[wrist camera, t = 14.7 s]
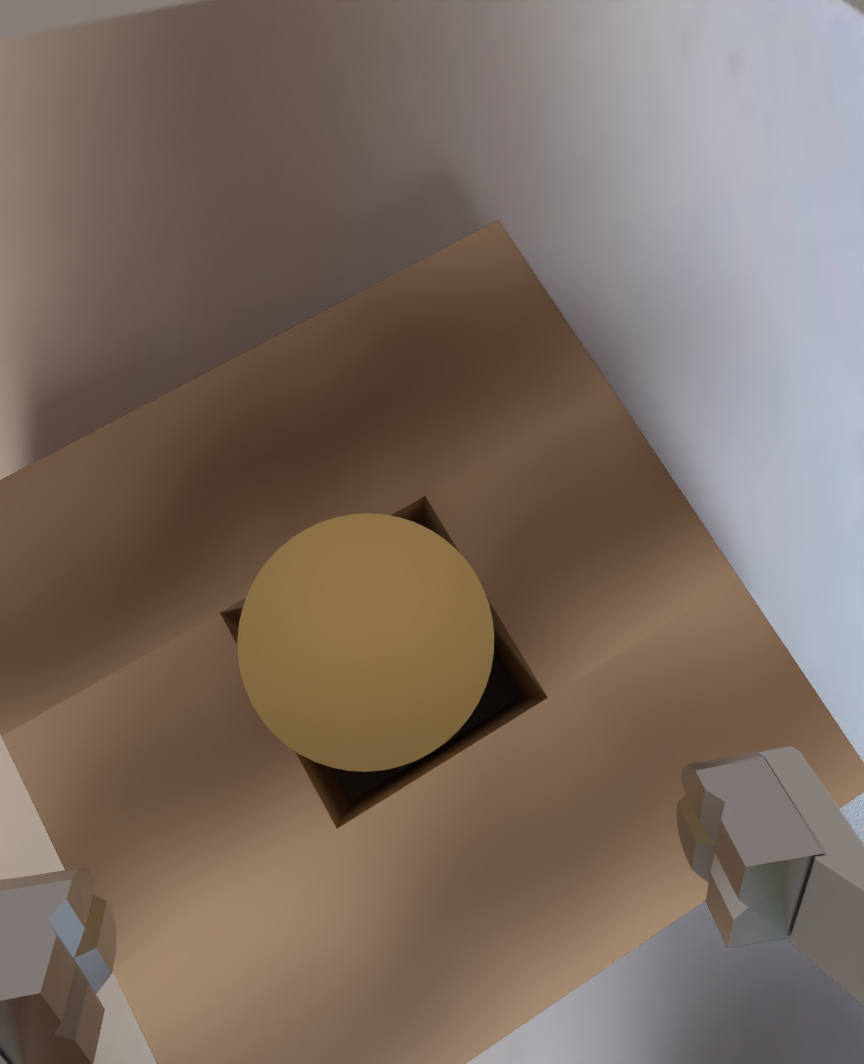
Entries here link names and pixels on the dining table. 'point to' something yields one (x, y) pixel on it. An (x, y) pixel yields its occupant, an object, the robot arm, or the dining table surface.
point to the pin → (365, 642)
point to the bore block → (432, 781)
